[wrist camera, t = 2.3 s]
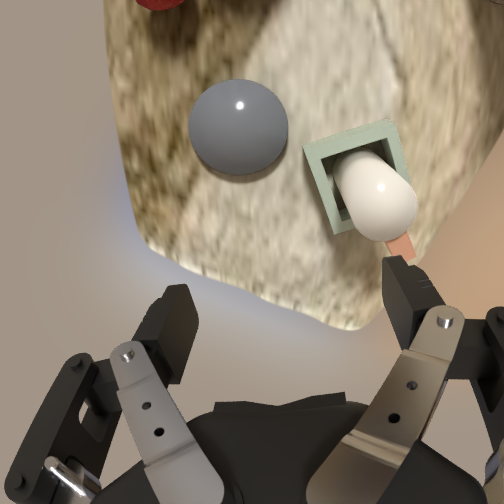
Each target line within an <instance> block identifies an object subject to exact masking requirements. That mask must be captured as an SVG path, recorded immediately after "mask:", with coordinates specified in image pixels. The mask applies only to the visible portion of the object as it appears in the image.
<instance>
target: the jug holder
mask: <svg viewBox="0 0 504 504" xmlns="http://www.w3.org/2000/svg"><path fill="white" fill-rule="evenodd" d="M377 140H381V141H382V144H383V147H384V151H385V154H386V158H387V162H388V165H389V166H390V167H391V168H392V169H393V170H394V171H396V172H397V173H398V174H399V175H400V176H401V177H402V178H403V179H404V180H405V181H406V182H407V183H408V184H409V185H410V186H411V183H410V178H409V174H408V170H407V166H406V162H405V158H404V154H403V150H402V146H401V143H400V139H399V135H398V132H397V128H396V125H395V123H394V122H392V121H390V120H387V119H383V120H380V121H377V122H373V123H370V124H367V125H364V126H360V127H357V128H354V129H351V130H348V131H344V132H341V133H338V134H335V135H332V136H329V137H326V138H323V139H320V140H317V141H314V142H311V143H309V144H306V145H303V149H304V152H305V155H306V157H307V160H308V163H309V165H310V168H311V171H312V173H313V176H314V179H315V181H316V184H317V187H318V190H319V192H320V195H321V198H322V201H323V203H324V206H325V209H326V212H327V215H328V218H329V221H330V224H331V227H332V230H333V233H334V235H336V234H339V233H342V232H345V231H349V230H352V229H355V228H356V227H355V225H354V223H353V221H352V219H351V216H350V214H349V212H348V209H347V208H344V209H341V210H338V208H337V205H336V202H335V199H334V196H333V193H332V190H331V187H330V184H329V182H328V179H327V176H326V173H325V170H324V168H323V165H322V162H321V159H322V158H325V157H328V156H331V155H334V154H337V153H340V152H343V151H346V150H349V149H352V148H355V147H358V146H361V145H365V144H368V143H371V142H374V141H377Z"/></svg>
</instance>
